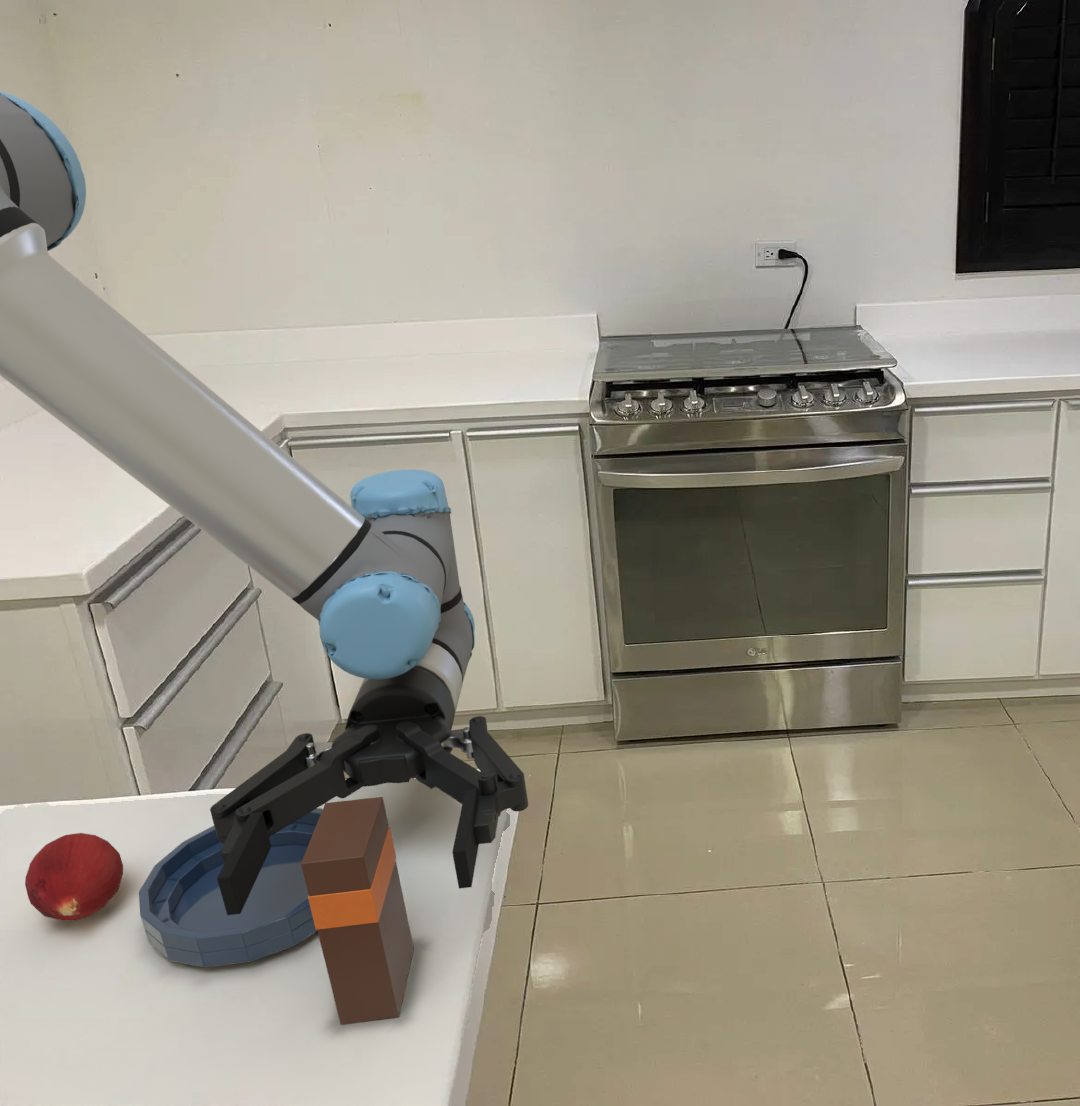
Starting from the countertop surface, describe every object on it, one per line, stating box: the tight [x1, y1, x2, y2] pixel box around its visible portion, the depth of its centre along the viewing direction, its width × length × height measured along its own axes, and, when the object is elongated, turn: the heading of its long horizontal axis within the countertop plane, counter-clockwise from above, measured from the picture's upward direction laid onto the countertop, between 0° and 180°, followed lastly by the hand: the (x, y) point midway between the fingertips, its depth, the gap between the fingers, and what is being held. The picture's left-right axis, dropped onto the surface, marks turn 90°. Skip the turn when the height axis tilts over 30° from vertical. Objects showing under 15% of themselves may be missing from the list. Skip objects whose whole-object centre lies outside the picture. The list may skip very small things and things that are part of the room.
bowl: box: [138, 807, 323, 968], centre depth 76 cm, size 14×14×3 cm
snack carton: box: [301, 796, 415, 1025], centre depth 66 cm, size 4×6×12 cm, turn 7°
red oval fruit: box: [24, 832, 124, 922], centre depth 76 cm, size 6×6×8 cm
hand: (346, 883), depth 64 cm, fingers open, 13 cm apart
